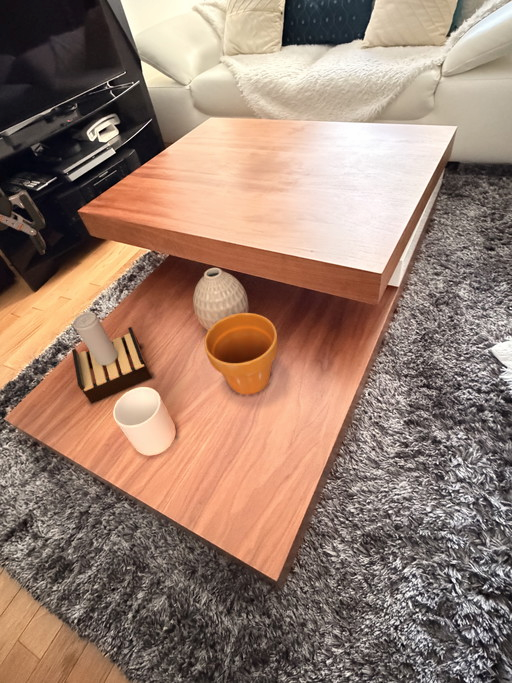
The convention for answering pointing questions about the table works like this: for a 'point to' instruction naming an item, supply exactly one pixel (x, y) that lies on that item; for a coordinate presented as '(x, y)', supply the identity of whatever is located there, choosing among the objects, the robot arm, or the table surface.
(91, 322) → the beverage can
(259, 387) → the flower pot
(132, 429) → the mug
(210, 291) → the vase
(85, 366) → the rack
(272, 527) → the table surface
